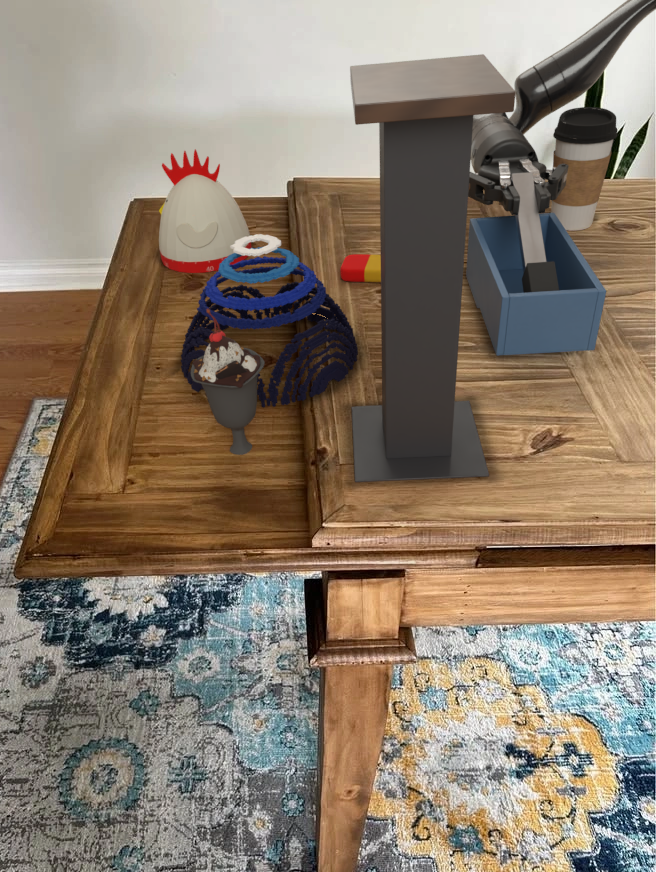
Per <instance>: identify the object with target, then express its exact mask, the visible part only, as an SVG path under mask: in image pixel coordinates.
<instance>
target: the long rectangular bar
mask: <svg viewBox="0 0 656 872" xmlns="http://www.w3.org/2000/svg"><path fill="white" fill-rule="evenodd" d="M511 186H514V187H515V188H516V190H517V192H518V194H519V195H520V205H519V213H518V215H515V217H516V224H517V231H518V238H519V245H520V252H521V259H522V266H523V273H524V274H523V277H522V284H523V291H524V293H528V292H544V291H559V286H558V280H557V274H556V267H555V262H554V261H552V262H546V255H545V249H544V243H543V236H542V230H541V223H540V217H539V214H540V213H539V212H538V205H537V199H536V192H535V186H534V179H533V173H532V172H529V173H516V174H512V176H511Z"/></svg>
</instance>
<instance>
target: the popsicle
mask: <svg viewBox="0 0 656 872" xmlns="http://www.w3.org/2000/svg"><path fill="white" fill-rule="evenodd" d="M339 272H340V278H341V280H343V281H344V282H350V283H357V282H358V283H381V254H367V253H365V254H364V253H363V254H360V253H358V254H357V253H355V254H353V253H352V254H348V255H347V256H346V257H344V259H343V261H342V264H341V266H340V271H339Z"/></svg>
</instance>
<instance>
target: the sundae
mask: <svg viewBox="0 0 656 872" xmlns="http://www.w3.org/2000/svg"><path fill="white" fill-rule="evenodd" d="M206 311H207V313H208V314H209V315H210V316H211V317H212V318H213V320H214V326H215V329H213V330H214V333H212V334H211V335H210V336H209V338H208V340H209V341H210V342H209V343H210V344H209V345H208V346H206V348H205V350H204V351H205V355H204V356H201V357H199V358H198V359H195V360H194V359H193V360H192V362H191V363H192V364H191V368H190V370H191V377H192V379H193V381H195V382H197V383H201V384H202V386H203V388H204V390H203V391H204V394H205V396H206V399H207V402H208V405H209V408H210V411H211V412H212V415H213V418H214V420H215V421H216V423H217V424H219V425H221V426H222V427H224V428H226V429H229V430H231V434H232V444H231V446H230V447H229V452H230V453H231V454H233V455H237V456H244V455H247V454H248V453H250V452H251V450H252V448H253V444H252V443H250V442H249V441H248V439H247V437H246V432H245V427H247V426H248V425H249V424H250V423H251V422H252V421H253V419H254V418H255V417H256V414H257V405H258V395H257V389H258V382H257V378H258V373H260V372H261V371H262V370H263V369H264V367H265V360H264V359H263V357H262V356H261V355H260V354H259V353H257V352H256V351H254V350H253V349H250V348H249V347H243V346H240V344H239V343H238V342H237V341H236V342H235V339H232V338H230V337H227V336H226V333H225V332H224V330H223V331H222V330H220V327H219V324H218V322H217V320H216V319H215V318H214V317H213V316H212V315H211V313H210V309H206ZM216 324H217V327H218V328H216Z"/></svg>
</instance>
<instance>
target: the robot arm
mask: <svg viewBox="0 0 656 872" xmlns="http://www.w3.org/2000/svg"><path fill="white" fill-rule="evenodd" d="M654 11H656V0H625V1H624V2H623V3H622V4H621V5H619V6H618V7H616V8H615V9H614V10H613V11H611V12H609V14H607V15H605V17H604V18H602V19H601V20H600V21H599V22H597V23H596V24H595V25H593V26H592V27H591V28H589V30H587V31H586V32H584V33H583V34H581V35H580V36H579V37H577V38H576V39H574V40H573V41H571V42H570V43H568V44H566V45H565V46H564V47H563V48H561V49H559V50H558V51H556V52H554V53H552V54H551V55H549V56H548V57H546V58H544V59H543V60H541V61H539V62H538V63H536V64H535V65H533V66H532V67H530V68H527V69H526V70H525V71H523V72H521V73H520V74H519V75H518V76H516V78H515V80H514V83H513V89H514V90H515V92H516V93H515V107H514V111H513V112H512V114H511V115H510V117H508V115H507V112H505V113H493V114H481V115H473V130H472V145H471V161H470V164H471V166H472V170H473V172H472V171H470V176H469V191H468V198H470V199H472V200H474V201H477V203H478V202H479V203H481V204H483V205H485V206H490V205H491V206H492V205H493V204H494V202H497V203H498V205H499V206H501V207H503V209H504V211H506V212H510V216H513V215H518V213H519V205H520V195H519V194H518V192H517V190H516V188H515V187H514V186H511V176H512V174H516V173H529V172H532V173H533V179H534V186H535V192H536V199H537V205H538V212H539V214H541V213H546V210H547V209H550V204H551V201H552V200H555V199H557V197H558V196H559V194H560V193H561V191H562V190H563V189H564V187H565V186H566V179H567V173H568V166H569V165H567V164H560V165H558V166H557V168H556V167H553V166H552V169H547V166H546V164H544V163H542V162H540V161H539V158H538V155H537V153H536V150H535V149H534V147H533V146H532V144H531V143H530V142H529V140H528V138H527V137H526V136H525V134H526V133H528V132H529V131H530V130H531V129H532V128H533V127H534V126H535V125H537V124H538V123H539V122H540V121H542V119H544V118H546V117H547V116H549V115H551V114H552V113H554V112H556V111H558V110H560V109H561V108H563V107H565V106H566V105H568V104H570V103H571V102H573V101H574V100H577V99H578V98H579V97H582V95H584V94H585V93H586V92H587V91H588V90H589V89H591V87H592V86H593V85H594V84H595V83H596V82H597V81H598V80H599V78H600V77H601V76H602V75H603V73H604V72H605V70H606V68H608V66H609V65H610V63H611V61H612V60H613V58H614V57H615V56H616V54H617V52H618V51H619V49H620V48H621V47H622V45H623V43H624V42H625V41H626V40H627V39H628V37H629V36H630V35H631V33H632V32H633V31H634V30H635V28H637V26H638V25H639V24H640V23H641V22H643V20H644V19H645V18H646V17H648V16H649V15H650V14H651V13H653V12H654Z"/></svg>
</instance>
